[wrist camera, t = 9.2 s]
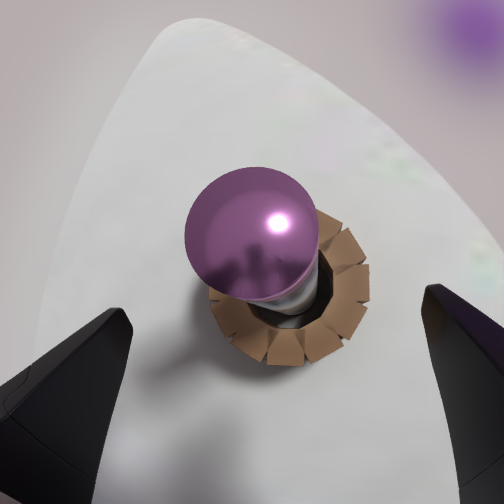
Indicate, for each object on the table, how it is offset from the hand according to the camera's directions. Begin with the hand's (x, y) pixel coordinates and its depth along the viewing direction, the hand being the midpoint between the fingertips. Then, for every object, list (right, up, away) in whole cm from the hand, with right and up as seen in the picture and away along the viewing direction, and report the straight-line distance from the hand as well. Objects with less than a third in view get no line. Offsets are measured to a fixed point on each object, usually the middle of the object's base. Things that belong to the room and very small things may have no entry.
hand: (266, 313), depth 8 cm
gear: (+2, -1, +11) cm, 11 cm away
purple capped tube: (+2, -1, +11) cm, 11 cm away
